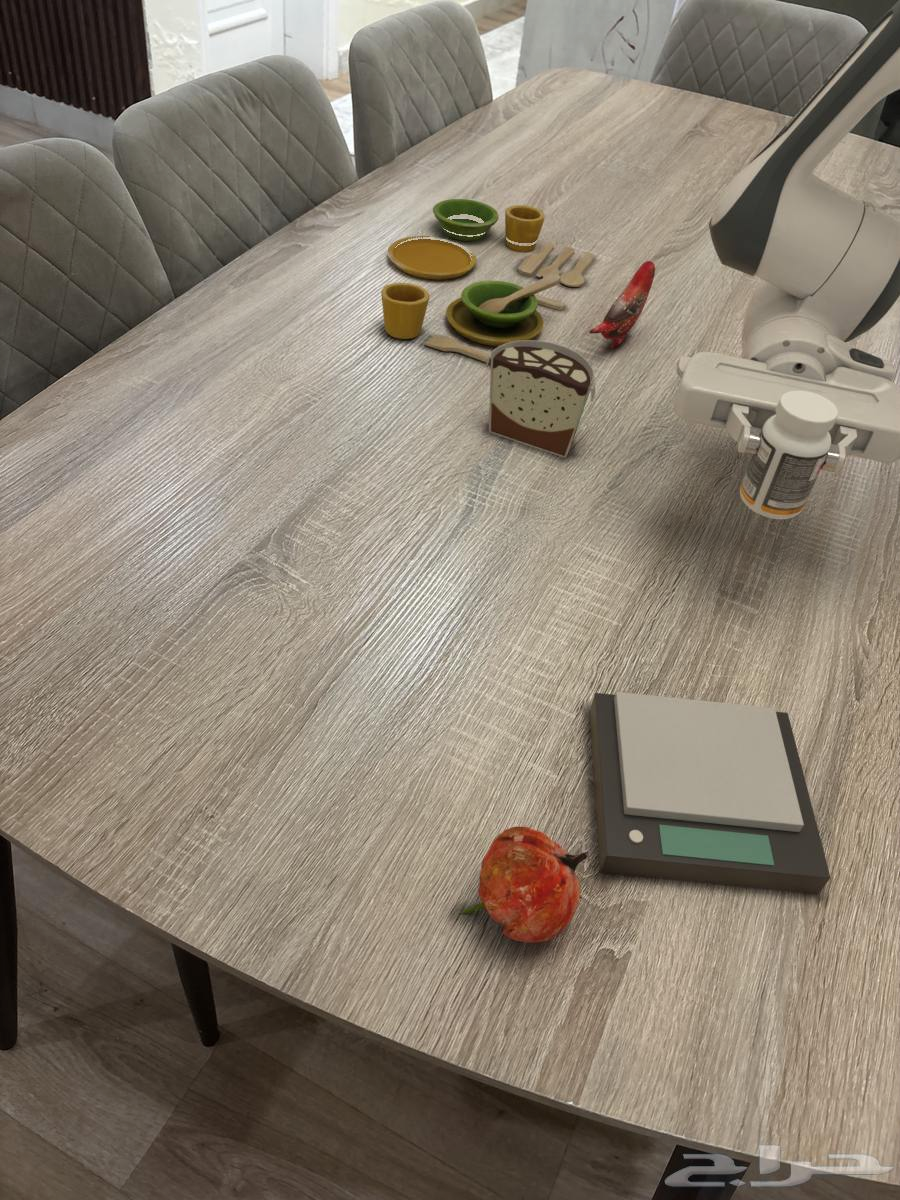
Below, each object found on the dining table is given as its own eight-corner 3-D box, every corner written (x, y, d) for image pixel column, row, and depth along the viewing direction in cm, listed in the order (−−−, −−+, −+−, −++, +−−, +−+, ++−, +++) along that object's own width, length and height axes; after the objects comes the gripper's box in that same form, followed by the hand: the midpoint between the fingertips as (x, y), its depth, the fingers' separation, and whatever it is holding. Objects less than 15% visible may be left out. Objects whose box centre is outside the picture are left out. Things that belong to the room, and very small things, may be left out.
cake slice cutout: (595, 436, 108) (614, 358, 101) (578, 463, 104) (596, 384, 97) (497, 404, 111) (508, 326, 104) (476, 429, 107) (487, 350, 100)
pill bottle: (810, 499, 84) (854, 404, 77) (789, 531, 80) (832, 434, 73) (751, 473, 86) (788, 378, 79) (727, 503, 82) (764, 406, 75)
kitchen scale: (777, 731, 79) (792, 704, 76) (818, 895, 68) (836, 870, 66) (588, 711, 78) (597, 684, 76) (599, 873, 68) (609, 847, 65)
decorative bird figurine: (648, 329, 128) (667, 259, 121) (589, 381, 117) (606, 306, 110) (629, 322, 129) (647, 252, 122) (569, 373, 118) (584, 298, 111)
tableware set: (511, 379, 115) (519, 332, 111) (311, 319, 121) (311, 272, 117) (604, 257, 143) (613, 215, 139) (438, 213, 150) (442, 172, 145)
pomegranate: (487, 985, 63) (621, 942, 60) (428, 931, 60) (568, 882, 56) (486, 890, 69) (608, 847, 66) (432, 836, 65) (559, 787, 62)
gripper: (687, 321, 87) (677, 397, 77) (912, 366, 85) (931, 450, 75) (670, 381, 91) (658, 460, 82) (883, 425, 89) (898, 512, 79)
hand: (791, 456), depth 78 cm, fingers closed on pill bottle, 5 cm apart
